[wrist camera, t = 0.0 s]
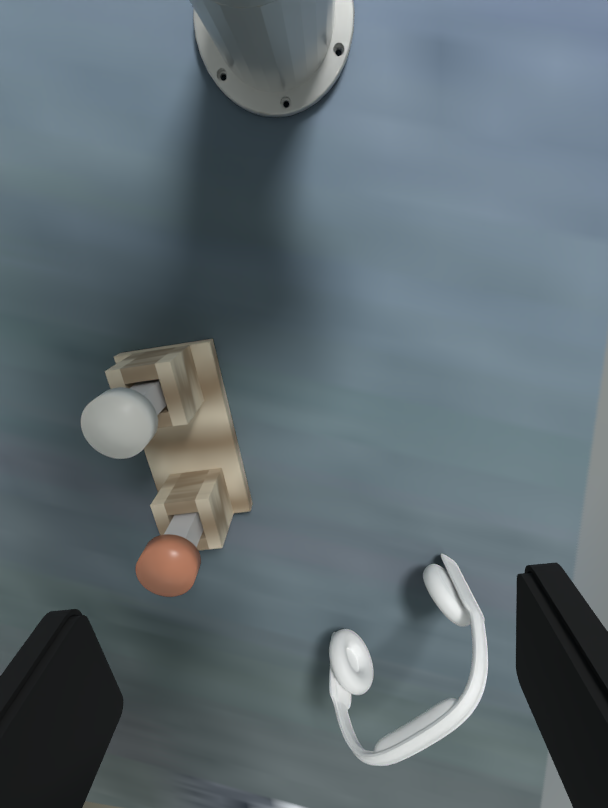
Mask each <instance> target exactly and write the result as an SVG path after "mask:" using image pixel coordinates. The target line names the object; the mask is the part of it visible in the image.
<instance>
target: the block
mask: <svg viewBox="0 0 608 808" xmlns="http://www.w3.org/2000/svg"><path fill="white" fill-rule="evenodd" d="M114 359H115V363H116V365H114V366H112V367H111V368H109V369H108V370H106V371H105V374H106V377H107V380H108V383H109V386H110V389H112V388H118V387H124V388H130V387H132V386H133V385H134V384H135V383H137V382H142V381H149V380H156V379H159V380H160V384H161V387H162V391H163V394H164V397H165V401H166V404H167V405H166V407H165V408H164V409H163V410H162V411H161V412H160V413H159V414H158V415H157V416H158V428H157V431H156V433H155V435H154V437H153V438H152V439H151V440H150V442H149V443H148V444H147V445H146V446H145V448H144V451H145V454H146V457H147V460H148V463H149V466H150V469H151V472H152V476H153V479H154V482H155V485H156V488H157V491H158V494H157V495H156V497H155V498H154V500H153V502H152V503H151V505H150V507H151V509H152V512H153V515H154V518H155V521H156V524H157V527H158V530H159V533H160V535H164V533H165V531H166V529H167V528H168V526H169V524H170V522H171V520H172V518H173V516H174V515H177V514H185V513H194V512H198V513H199V516H200V519H201V523H202V526H203V533H202V535H201V537H200V540H199V542H198V545H197V547H196V548H197V549H198V551H199V550H208V549H217V548H223V545H224V542H225V539H226V536H227V532H228V529H229V526H230V523H231V520H232V517H233V514H234V513H240V512H248V511H251V508H252V504H253V503H252V499H251V495H250V491H249V487H248V483H247V479H246V474H245V470H244V466H243V462H242V458H241V454H240V450H239V445H238V441H237V437H236V433H235V429H234V425H233V421H232V416H231V412H230V408H229V404H228V400H227V396H226V391H225V387H224V383H223V379H222V375H221V371H220V367H219V362H218V358H217V354H216V350H215V346H214V342H213V339H207V340H200V341H194V342H187V343H181V344H174V345H168V346H162V347H155V348H149V349H142V350H136V351H129V352H123V353H119V354H117V355H116V356H114Z"/></svg>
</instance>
